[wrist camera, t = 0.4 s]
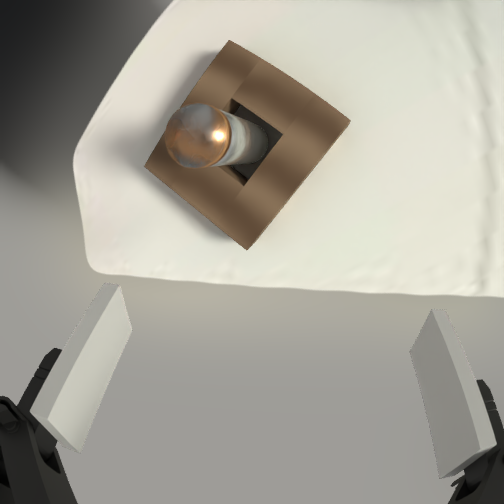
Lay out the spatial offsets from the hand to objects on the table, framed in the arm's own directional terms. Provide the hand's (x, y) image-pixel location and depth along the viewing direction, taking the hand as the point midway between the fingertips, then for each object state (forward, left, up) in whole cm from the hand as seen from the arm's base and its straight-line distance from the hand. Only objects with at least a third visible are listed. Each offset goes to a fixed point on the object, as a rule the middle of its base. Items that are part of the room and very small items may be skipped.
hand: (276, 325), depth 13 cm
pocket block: (-2, -12, -26) cm, 29 cm away
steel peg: (-2, -12, -26) cm, 29 cm away
